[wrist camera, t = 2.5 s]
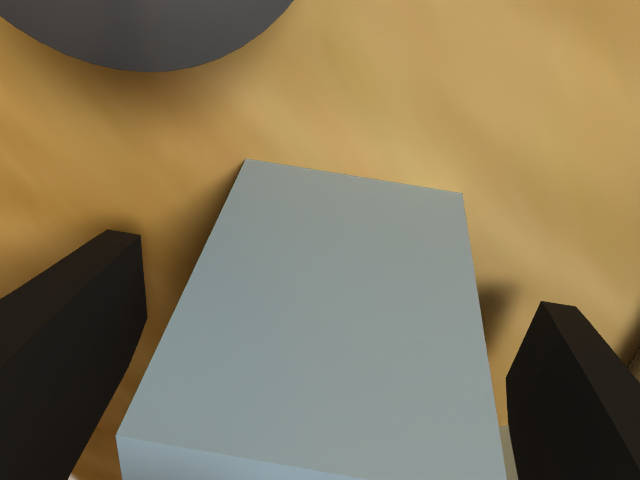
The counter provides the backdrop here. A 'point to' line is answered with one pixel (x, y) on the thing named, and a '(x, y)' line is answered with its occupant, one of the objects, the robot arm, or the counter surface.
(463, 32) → the counter surface
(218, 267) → the block
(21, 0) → the grey rounded cylinder
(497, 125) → the counter surface
